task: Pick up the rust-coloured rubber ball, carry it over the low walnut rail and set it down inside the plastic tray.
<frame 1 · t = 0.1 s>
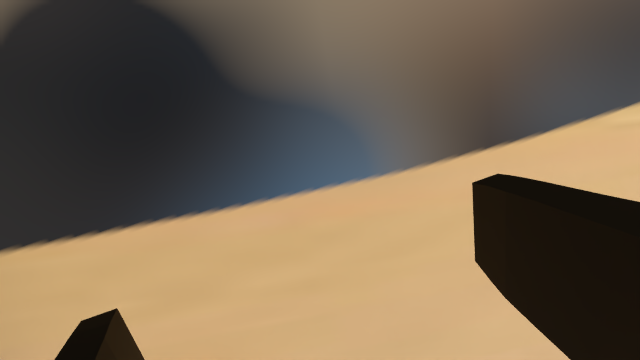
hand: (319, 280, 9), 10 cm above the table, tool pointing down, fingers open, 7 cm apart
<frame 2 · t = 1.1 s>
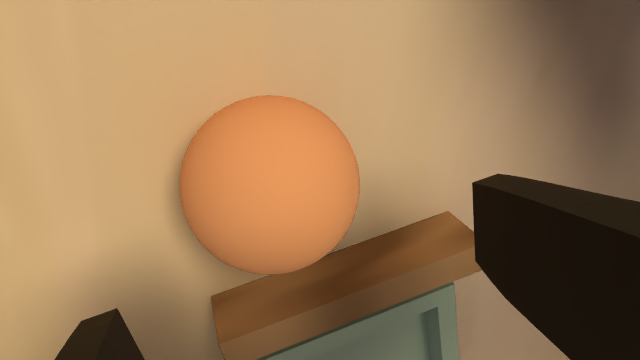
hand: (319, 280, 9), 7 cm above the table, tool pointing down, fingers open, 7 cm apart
ball: (255, 154, 15), on the table
rail: (338, 263, 18), on the table
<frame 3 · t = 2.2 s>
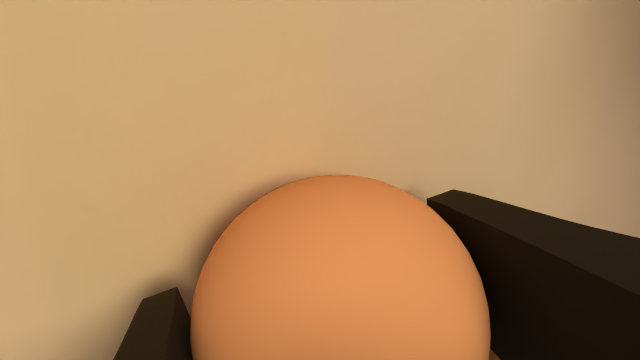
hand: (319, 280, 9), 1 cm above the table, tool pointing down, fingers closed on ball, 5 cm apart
ball: (299, 244, 10), on the table, touching gripper
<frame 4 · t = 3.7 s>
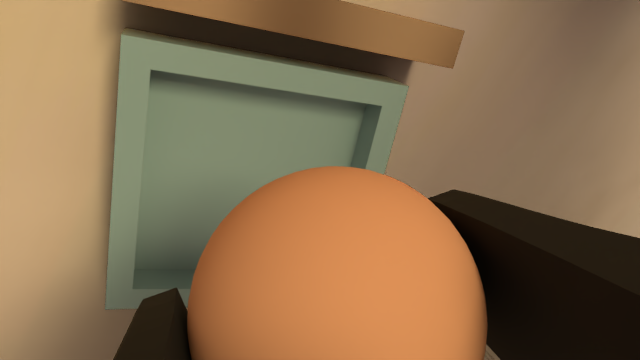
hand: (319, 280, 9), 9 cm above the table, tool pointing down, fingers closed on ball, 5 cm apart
ball: (295, 237, 10), point 7 cm above the table, touching gripper
rail: (292, 11, 15), on the table
tray: (248, 176, 17), on the table
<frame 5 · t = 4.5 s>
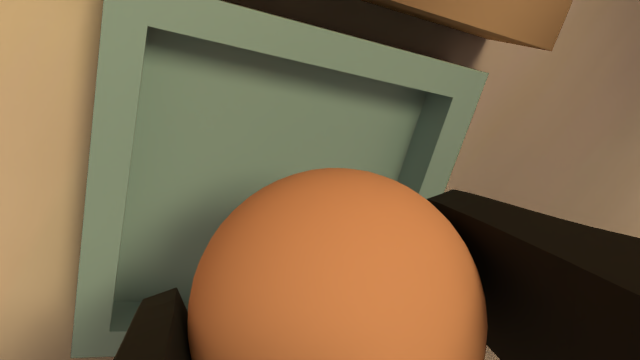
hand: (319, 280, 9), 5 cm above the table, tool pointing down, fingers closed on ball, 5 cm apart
ball: (295, 239, 10), point 3 cm above the table, touching gripper
tray: (269, 183, 13), on the table
when the fingers open (3 cm above the table, at t = 5.3 s): ball drops 1 cm, resting on tray.
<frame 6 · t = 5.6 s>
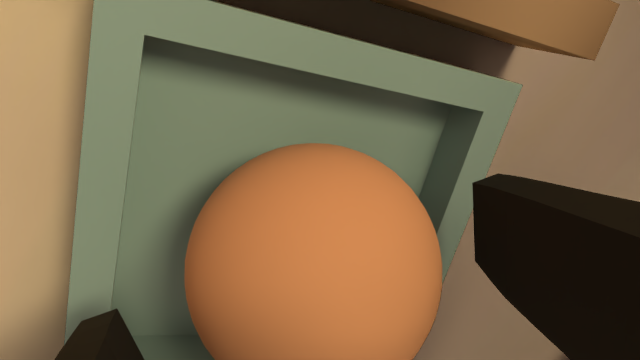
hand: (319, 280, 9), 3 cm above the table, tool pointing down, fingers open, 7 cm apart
ball: (281, 212, 11), point 1 cm above the table, touching tray
tray: (278, 204, 12), on the table
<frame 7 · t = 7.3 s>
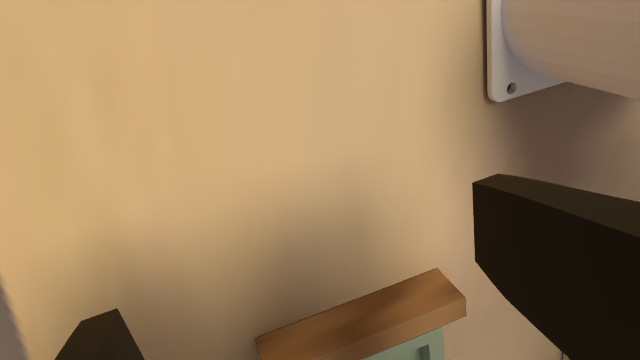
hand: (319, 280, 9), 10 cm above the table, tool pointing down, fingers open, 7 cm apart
rail: (351, 310, 23), on the table
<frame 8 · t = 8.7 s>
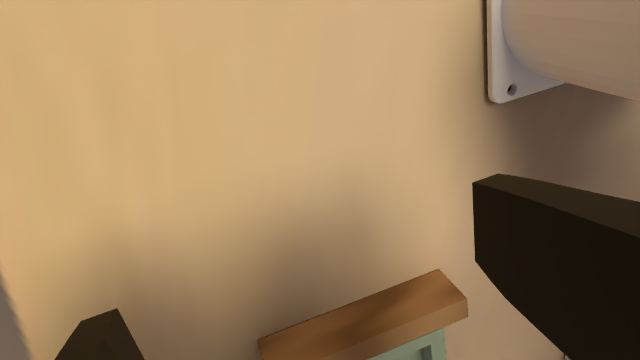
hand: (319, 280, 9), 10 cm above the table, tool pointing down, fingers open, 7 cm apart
rail: (354, 311, 23), on the table
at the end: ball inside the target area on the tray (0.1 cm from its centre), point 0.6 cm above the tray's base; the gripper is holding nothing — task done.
